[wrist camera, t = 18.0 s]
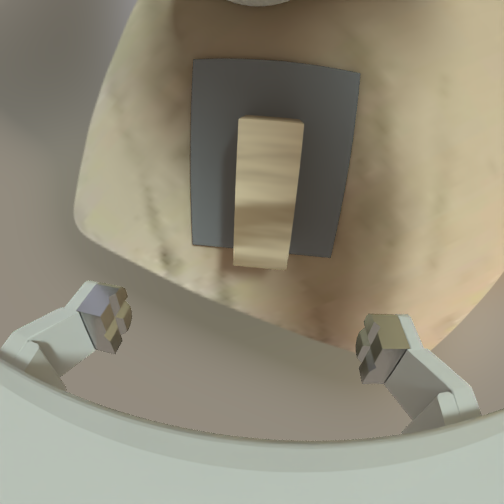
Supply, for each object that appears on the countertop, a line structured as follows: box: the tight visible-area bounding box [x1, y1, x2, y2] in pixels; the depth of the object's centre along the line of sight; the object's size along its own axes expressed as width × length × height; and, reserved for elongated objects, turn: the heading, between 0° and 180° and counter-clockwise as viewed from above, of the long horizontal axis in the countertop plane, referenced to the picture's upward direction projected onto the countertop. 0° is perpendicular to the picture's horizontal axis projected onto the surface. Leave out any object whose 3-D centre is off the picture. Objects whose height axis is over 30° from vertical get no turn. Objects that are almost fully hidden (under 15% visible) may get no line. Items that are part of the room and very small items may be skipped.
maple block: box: [233, 115, 304, 271], centre depth 23 cm, size 4×4×12 cm
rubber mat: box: [191, 59, 360, 258], centre depth 24 cm, size 18×14×1 cm
